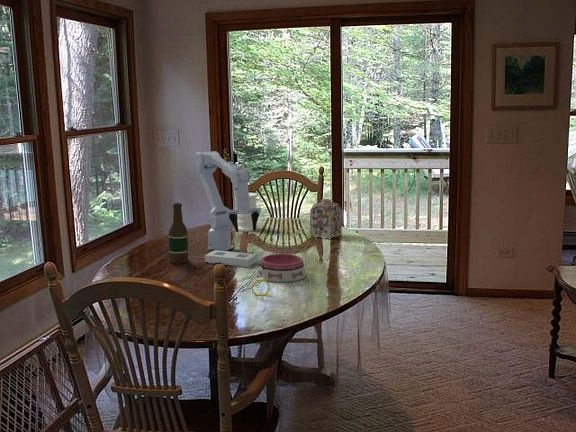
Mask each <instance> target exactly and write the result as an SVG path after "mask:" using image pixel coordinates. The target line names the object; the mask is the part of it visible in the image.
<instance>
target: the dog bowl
mask: <svg viewBox="0 0 576 432" xmlns="http://www.w3.org/2000/svg"><path fill="white" fill-rule="evenodd" d="M258 266H259V267H258V271H257V274H256V276H257V277H256V278H260V277H262V278H264V280H266V281H267V282H268V283H275V284H288V283H289V284H290V283H296V282H301V281H303V280H305V279H306V278H307V277H308V276H307V275H308V274H307V272H306V269H305V263H304V259H303V258H302V257H301V256H298V255H295V254H291V253H273V254H268V255H265V256H263V257H262V258H261V259H260V262H259V265H258Z"/></svg>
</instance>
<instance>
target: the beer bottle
mask: <svg viewBox="0 0 576 432" xmlns="http://www.w3.org/2000/svg"><path fill="white" fill-rule="evenodd" d="M182 206H183V205H182V203H181V202H175V203H172V207H173V211H172V214H173V215H172V224H171V226H170V227H169V230H168V250H169V251H168V254H169V257H168V258H169V262H170V264H173V265H182V263H183V264H187V263H188V261H189V242H188V241H189V240H188V239H189V237H188V236H189V235H188V228H187V226H186V224H184V221H183V211H182ZM186 262H187V263H186Z"/></svg>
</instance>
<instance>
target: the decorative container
mask: <svg viewBox="0 0 576 432" xmlns="http://www.w3.org/2000/svg"><path fill="white" fill-rule="evenodd" d="M257 198H258V194H257V193H256V192H249V200H250V208H257V204H258V203H257ZM245 212H248V211H245ZM245 212H239V213H245ZM251 214H253V213H248V214H238V232H243V233H244V232H248V233H249V232H255V231H258V230H259V226H258V225H256V230H255V231H253V223H252V217H251Z"/></svg>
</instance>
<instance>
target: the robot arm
mask: <svg viewBox="0 0 576 432" xmlns="http://www.w3.org/2000/svg"><path fill="white" fill-rule="evenodd" d="M220 155H221V154H220V153H219V152H218V151H216V150H215V151H205V152H204V151H203V152H202V151H201V152H200V151H197V152H196V153H195V156H194V165H195V167H196V170H197V173H199V176H200V180H201V182H202V185H203V188H204V191H205V192H206V196H207V198H208V202H209V205H210V207H211V210H210V212H209V213H208V218H209V225H210V227H211V228H210V229H209V230H208V232H207V241H208V242H207V246H208V247H207V250H212V251H214V250H218V251H229V250H231V249H234V248H235V246H234V245H231V229H232V228H234V231H235V233H238V232H239V231H238V214H248V213H253V214H251V217H252V223H253V231H252V232H255V230H256V226H258V225H257V224H258V219H259V217H260V213H262V207H256V208H250V200H249V193H250V192H249V182H250V180H251V173H250V171H249V170H248V169H247V168H244V169H242V168H241V167H240V166H237V165H236V164H235V163H234V162H233V161H228V162H227V161H226V160H225V159H223V158H222V157H221V156H220ZM217 167H218V168H219V169H221V171H222V173H223V174H224V175H225V176H227V177H228V178H229V179H230V182H231V183H232V187H233V189H234V197H235V204H236V205H235V206H236V209H230V208H229V207H226V206H225V205H224V203H223V200H222V197H221V195H220V193H219V190H218V186H217V184H216V181H215V178H214V175H213V173H214V172H216V170H217ZM245 211H248V212H245ZM239 212H245V213H239ZM256 231H257V230H256Z"/></svg>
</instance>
